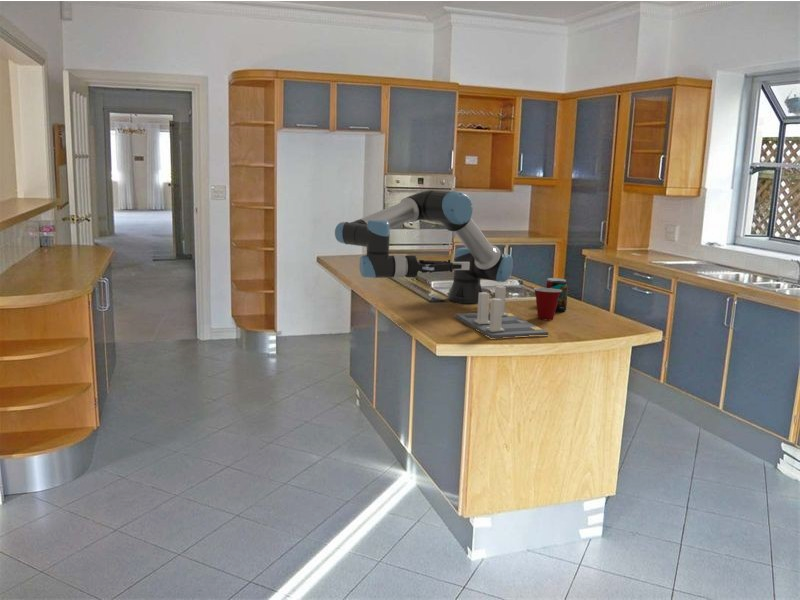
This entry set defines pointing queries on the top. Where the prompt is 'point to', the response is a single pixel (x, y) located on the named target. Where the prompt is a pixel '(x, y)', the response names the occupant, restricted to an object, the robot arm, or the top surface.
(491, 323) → the slider
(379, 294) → the top surface
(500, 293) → the slider
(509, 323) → the grey base board
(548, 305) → the plastic cup
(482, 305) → the slider
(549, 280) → the canned food
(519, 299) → the top surface
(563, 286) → the beverage can
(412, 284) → the top surface
